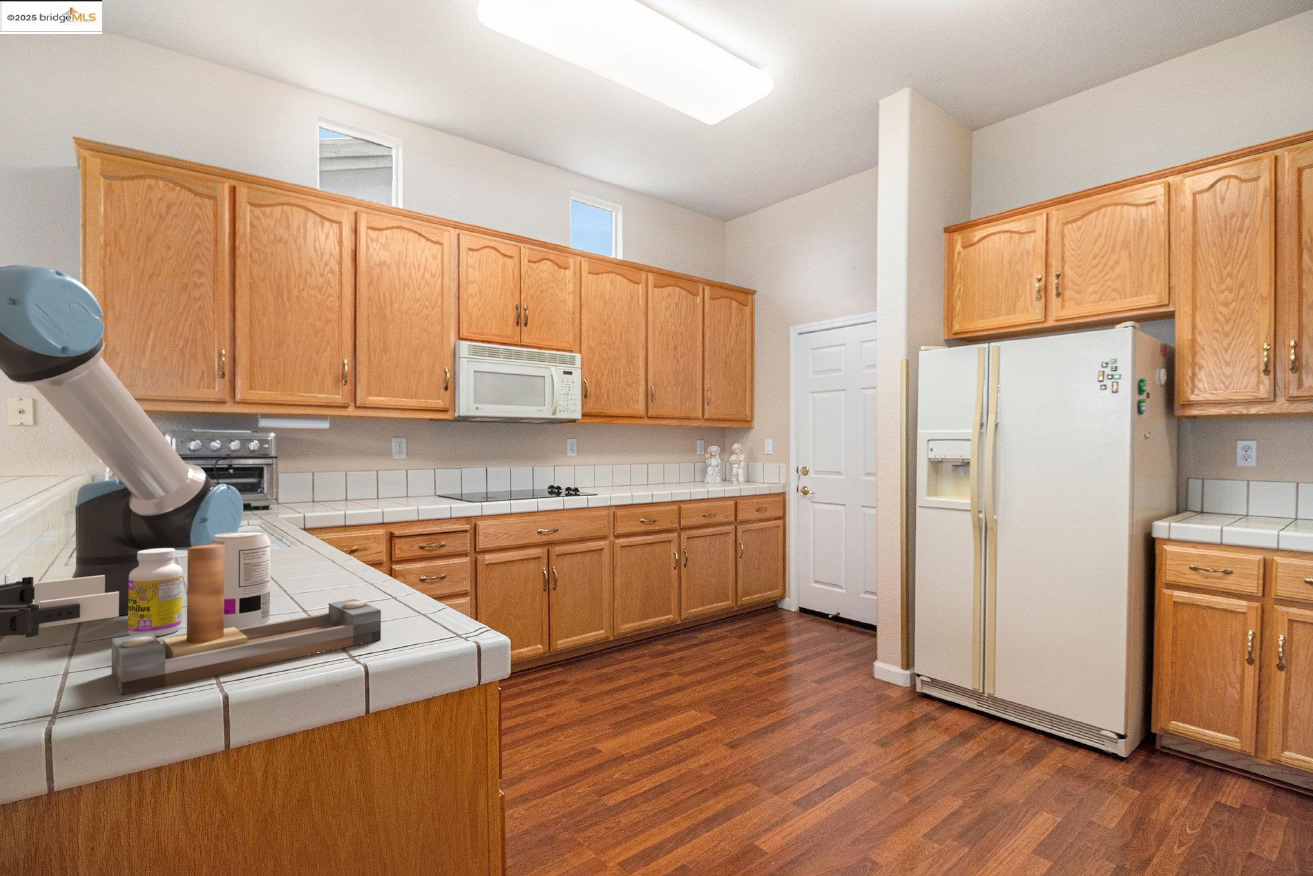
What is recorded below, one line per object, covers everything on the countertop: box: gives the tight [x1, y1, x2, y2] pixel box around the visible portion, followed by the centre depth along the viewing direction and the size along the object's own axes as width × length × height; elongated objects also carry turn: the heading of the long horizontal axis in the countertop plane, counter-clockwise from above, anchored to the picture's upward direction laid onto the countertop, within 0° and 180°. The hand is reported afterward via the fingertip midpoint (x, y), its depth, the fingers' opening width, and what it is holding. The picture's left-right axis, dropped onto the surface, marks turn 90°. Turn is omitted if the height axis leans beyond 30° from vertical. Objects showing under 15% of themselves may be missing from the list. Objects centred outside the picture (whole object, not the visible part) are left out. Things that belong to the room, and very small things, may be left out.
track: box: [111, 598, 382, 695], centre depth 89 cm, size 10×30×5 cm, turn 136°
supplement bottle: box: [127, 548, 183, 638], centre depth 100 cm, size 7×7×13 cm
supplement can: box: [210, 530, 271, 629], centre depth 103 cm, size 8×8×15 cm
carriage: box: [162, 545, 247, 659], centre depth 85 cm, size 7×8×14 cm
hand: (111, 594), depth 78 cm, fingers open, 13 cm apart
